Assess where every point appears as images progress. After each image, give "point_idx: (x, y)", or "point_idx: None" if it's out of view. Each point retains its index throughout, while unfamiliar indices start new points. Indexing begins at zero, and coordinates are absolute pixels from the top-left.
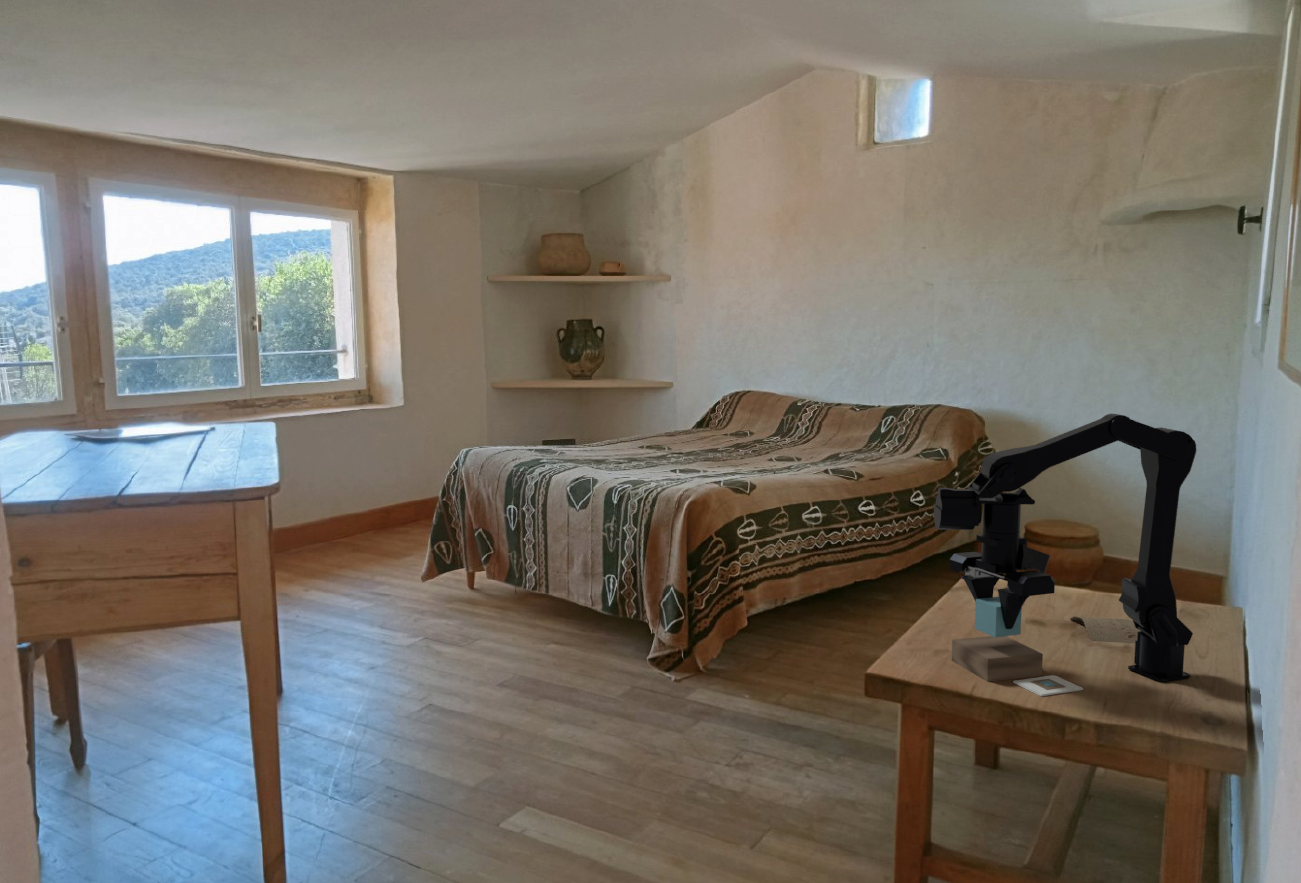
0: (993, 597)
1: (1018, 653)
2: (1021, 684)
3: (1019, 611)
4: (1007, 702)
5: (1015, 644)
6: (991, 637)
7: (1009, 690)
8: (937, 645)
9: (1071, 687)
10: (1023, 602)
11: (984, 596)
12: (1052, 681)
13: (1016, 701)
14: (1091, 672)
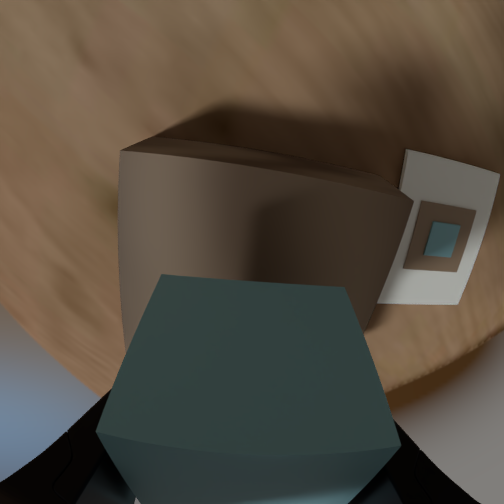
0: (123, 470)
1: (356, 286)
2: (398, 301)
3: (414, 446)
4: (420, 374)
5: (261, 207)
6: (132, 233)
7: (391, 337)
8: (29, 267)
9: (484, 198)
10: (458, 494)
11: (119, 496)
12: (440, 211)
13: (430, 359)
14: (424, 3)
